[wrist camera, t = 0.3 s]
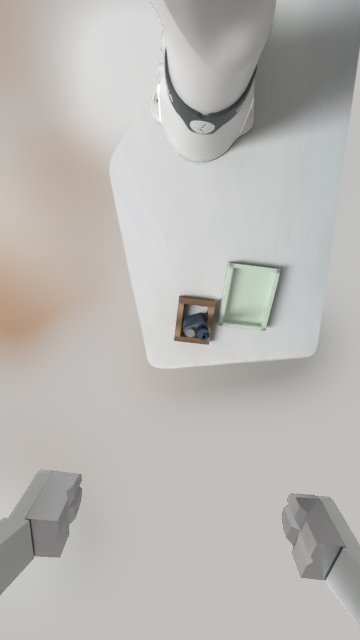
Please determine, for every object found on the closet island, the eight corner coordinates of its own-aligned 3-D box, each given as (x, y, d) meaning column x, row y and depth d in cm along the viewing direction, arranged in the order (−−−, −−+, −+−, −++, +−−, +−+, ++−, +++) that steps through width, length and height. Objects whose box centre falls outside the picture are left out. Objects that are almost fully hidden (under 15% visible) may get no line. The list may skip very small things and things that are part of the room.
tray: (228, 262, 51) (230, 263, 48) (276, 268, 51) (280, 269, 49) (217, 322, 55) (218, 325, 53) (261, 327, 56) (265, 331, 53)
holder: (179, 295, 53) (179, 297, 51) (214, 300, 54) (215, 302, 52) (174, 337, 57) (174, 340, 55) (207, 341, 57) (208, 344, 55)
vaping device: (206, 321, 55) (212, 341, 44) (185, 327, 56) (185, 348, 44) (203, 311, 54) (208, 329, 43) (181, 317, 55) (181, 336, 44)
